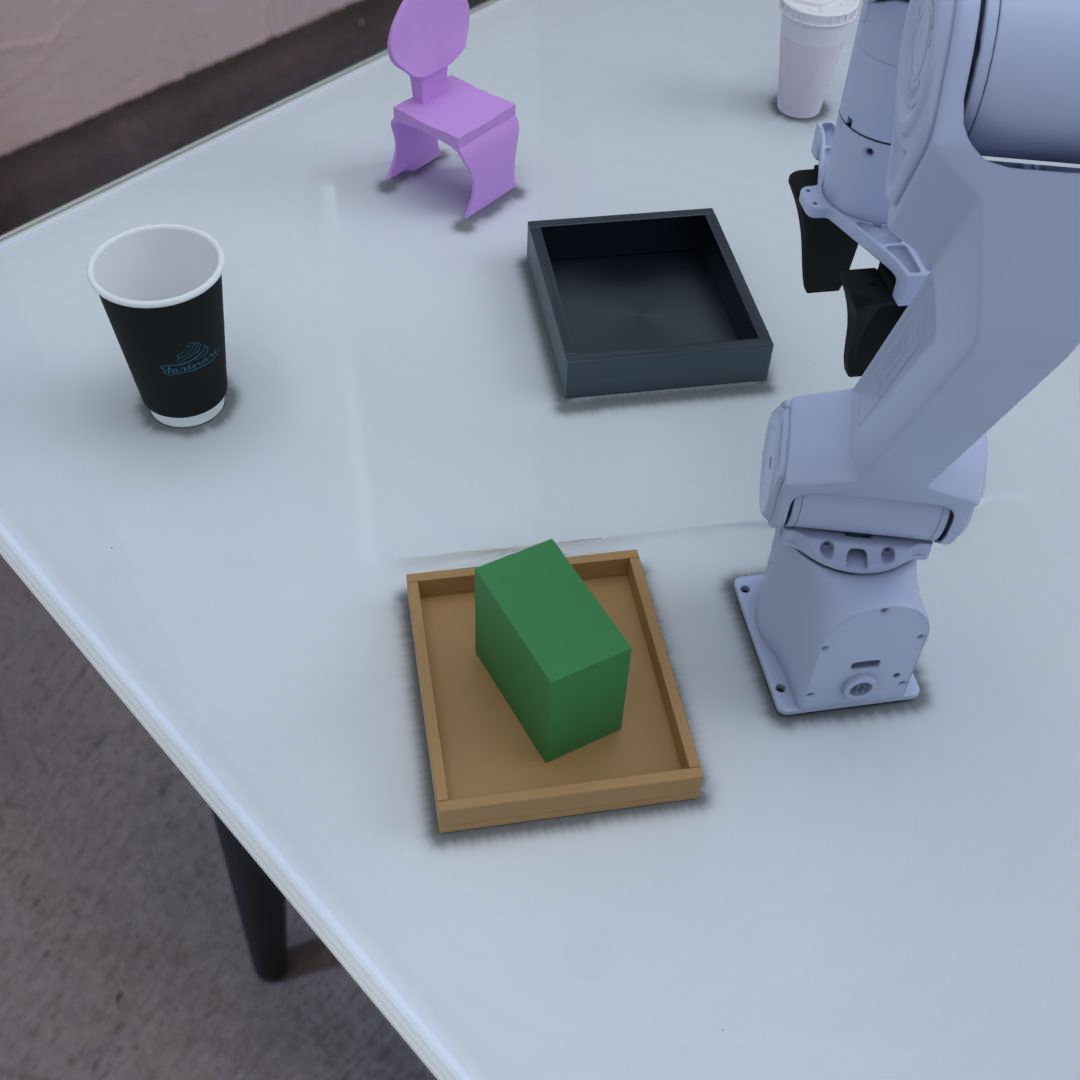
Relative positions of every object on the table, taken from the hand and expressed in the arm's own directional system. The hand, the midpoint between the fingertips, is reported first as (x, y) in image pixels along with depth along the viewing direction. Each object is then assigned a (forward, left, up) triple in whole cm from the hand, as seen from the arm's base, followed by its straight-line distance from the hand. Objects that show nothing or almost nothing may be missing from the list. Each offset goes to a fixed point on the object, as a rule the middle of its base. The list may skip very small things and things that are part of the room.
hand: (841, 329), depth 76 cm
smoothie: (+41, -12, -10) cm, 44 cm away
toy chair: (+32, +19, -10) cm, 39 cm away
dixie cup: (+10, +39, -10) cm, 42 cm away
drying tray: (-16, +20, -10) cm, 27 cm away
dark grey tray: (+14, +8, -10) cm, 19 cm away
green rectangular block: (-16, +20, -9) cm, 27 cm away
